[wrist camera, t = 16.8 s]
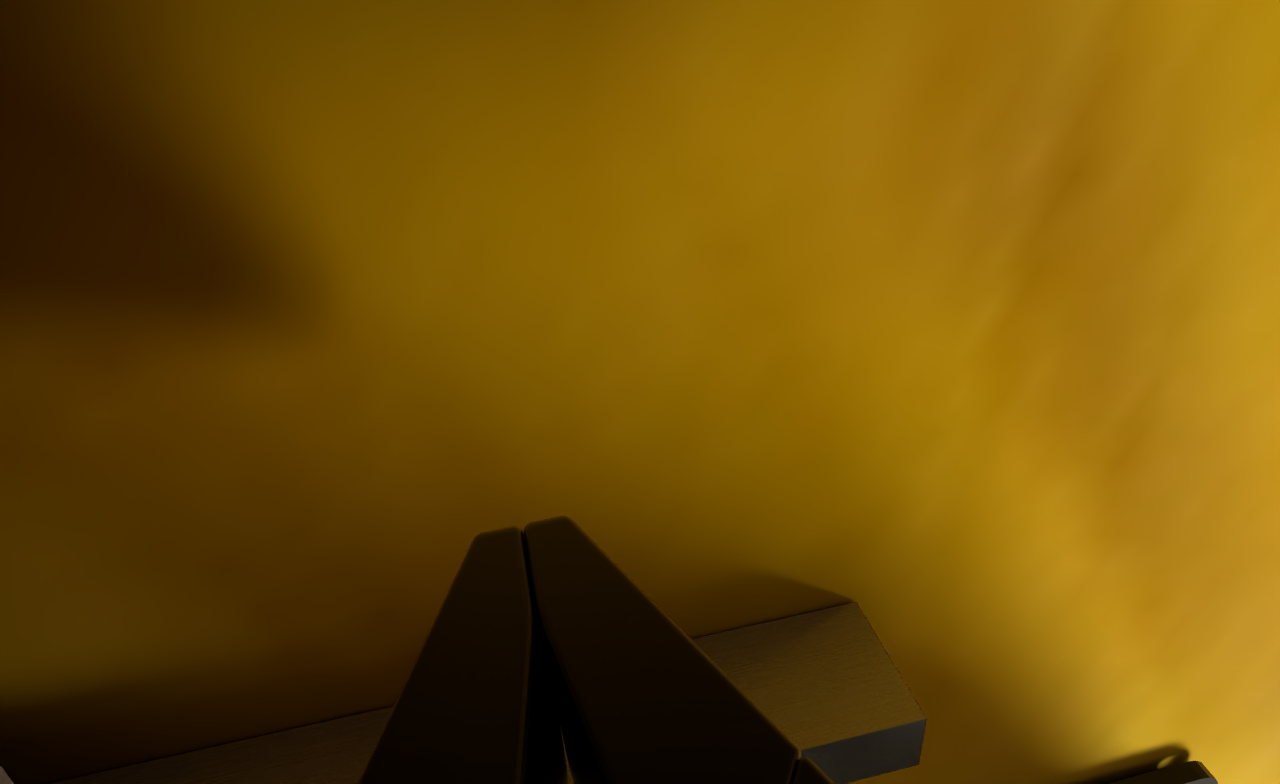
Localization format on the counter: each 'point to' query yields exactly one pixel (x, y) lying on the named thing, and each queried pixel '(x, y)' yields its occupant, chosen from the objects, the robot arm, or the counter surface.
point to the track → (750, 656)
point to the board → (4, 777)
